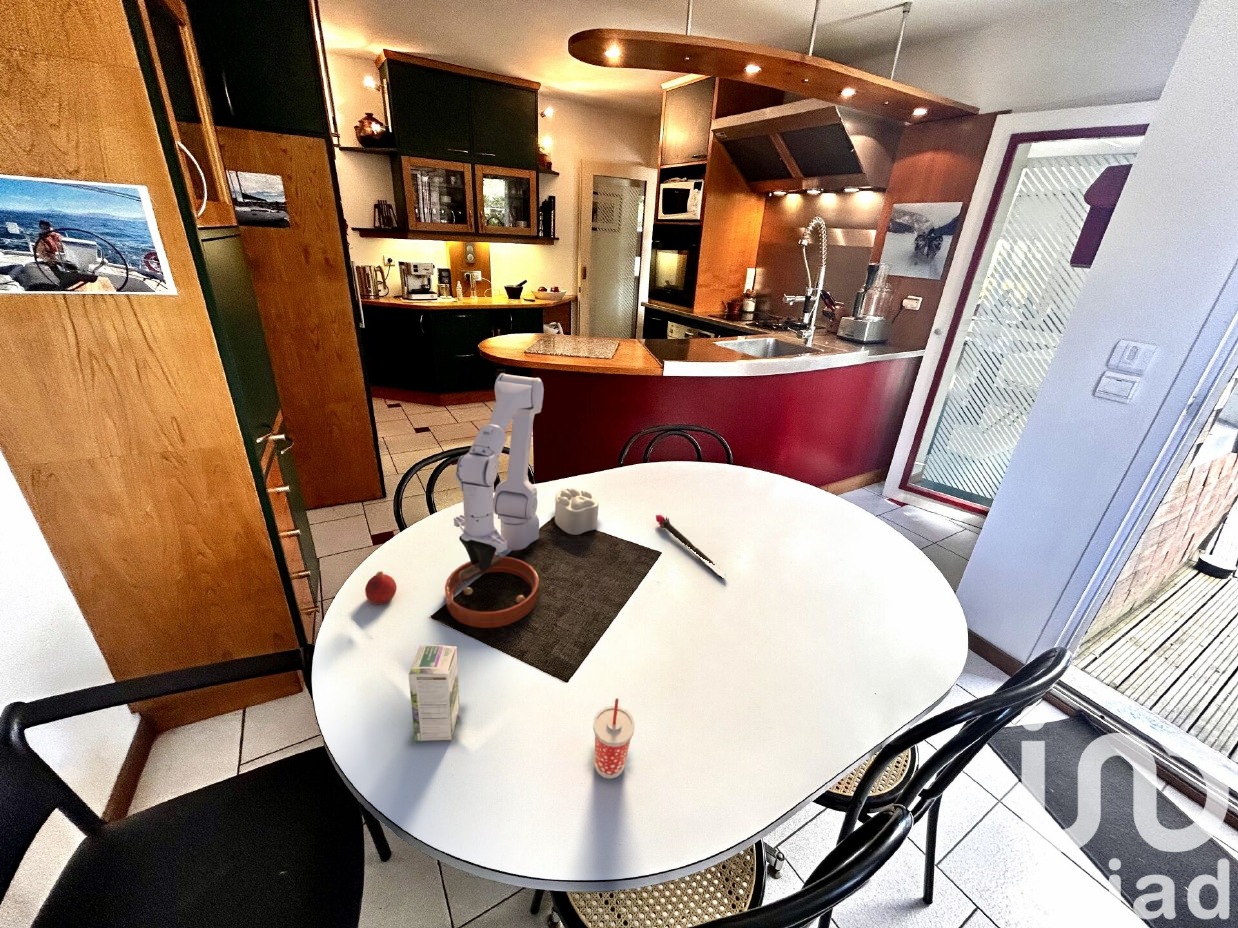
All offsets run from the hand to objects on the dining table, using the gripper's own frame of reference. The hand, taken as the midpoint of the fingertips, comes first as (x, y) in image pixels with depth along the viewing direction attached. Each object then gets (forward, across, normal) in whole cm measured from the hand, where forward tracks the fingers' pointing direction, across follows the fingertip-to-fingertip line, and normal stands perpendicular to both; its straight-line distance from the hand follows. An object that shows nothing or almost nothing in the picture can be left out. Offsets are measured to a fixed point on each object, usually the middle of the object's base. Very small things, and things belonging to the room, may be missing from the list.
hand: (481, 565), depth 104 cm
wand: (+9, +24, +49) cm, 55 cm away
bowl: (+8, +3, +1) cm, 9 cm away
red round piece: (+9, -14, -15) cm, 22 cm away
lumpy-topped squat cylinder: (+9, -7, +38) cm, 40 cm away
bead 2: (+7, +8, +4) cm, 11 cm away
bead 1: (+7, -2, -2) cm, 8 cm away
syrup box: (+8, +20, -24) cm, 32 cm away
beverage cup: (+8, +44, -11) cm, 47 cm away
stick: (+1, 0, 0) cm, 1 cm away
